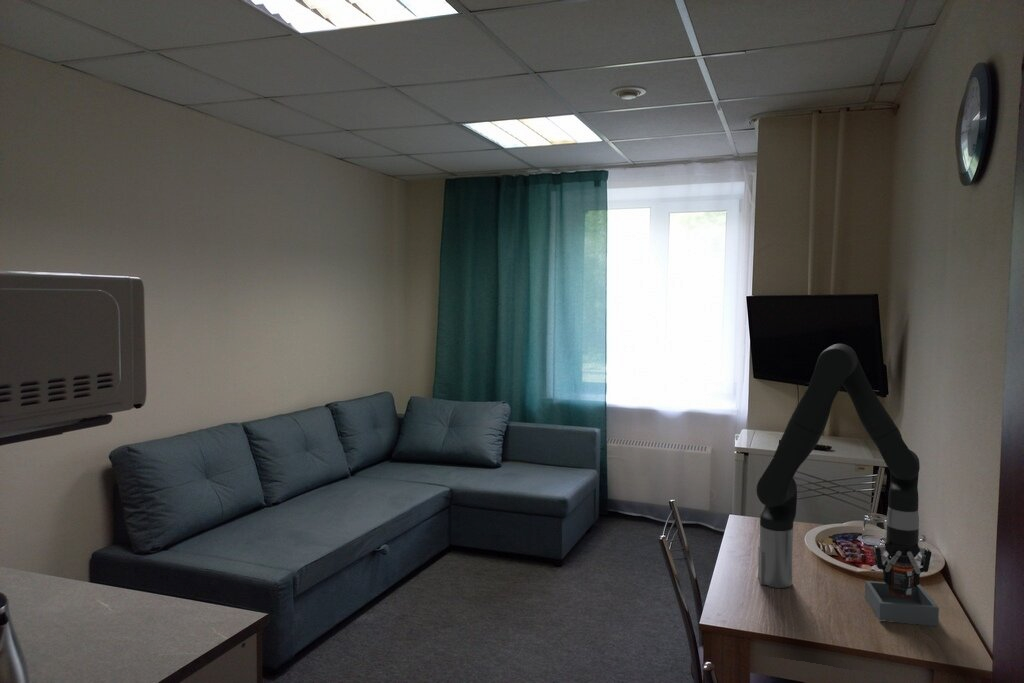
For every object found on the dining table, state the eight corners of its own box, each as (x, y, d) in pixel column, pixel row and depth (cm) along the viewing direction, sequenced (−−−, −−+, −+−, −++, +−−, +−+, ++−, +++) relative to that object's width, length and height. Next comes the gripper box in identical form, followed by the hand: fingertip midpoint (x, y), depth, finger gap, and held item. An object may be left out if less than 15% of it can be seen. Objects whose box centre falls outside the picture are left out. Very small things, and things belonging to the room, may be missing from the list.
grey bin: (879, 621, 186) (879, 603, 185) (864, 597, 199) (865, 580, 199) (938, 626, 183) (938, 607, 182) (919, 601, 196) (920, 584, 196)
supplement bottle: (916, 599, 187) (917, 558, 186) (892, 598, 188) (893, 557, 187) (908, 590, 193) (910, 549, 192) (885, 588, 194) (886, 548, 193)
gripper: (877, 527, 187) (875, 588, 188) (937, 530, 184) (935, 593, 185) (869, 518, 194) (868, 577, 195) (927, 521, 191) (925, 581, 192)
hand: (900, 584), depth 190 cm, fingers closed on supplement bottle, 6 cm apart
